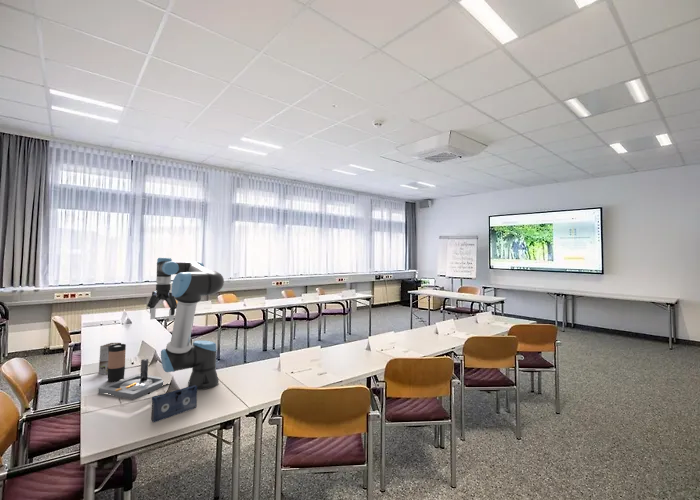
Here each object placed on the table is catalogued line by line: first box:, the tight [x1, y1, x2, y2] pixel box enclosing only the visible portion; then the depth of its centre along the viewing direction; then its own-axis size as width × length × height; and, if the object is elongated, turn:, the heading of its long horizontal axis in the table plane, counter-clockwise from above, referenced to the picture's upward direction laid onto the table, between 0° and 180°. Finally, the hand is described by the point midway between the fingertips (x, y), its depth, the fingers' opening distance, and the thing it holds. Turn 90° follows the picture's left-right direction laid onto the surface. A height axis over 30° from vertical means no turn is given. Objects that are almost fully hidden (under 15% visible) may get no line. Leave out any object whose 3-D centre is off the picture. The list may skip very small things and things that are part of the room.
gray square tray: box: [97, 373, 164, 400], centre depth 167 cm, size 22×22×4 cm
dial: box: [120, 358, 152, 391], centre depth 167 cm, size 14×14×12 cm
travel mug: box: [107, 343, 127, 383], centre depth 178 cm, size 8×8×20 cm
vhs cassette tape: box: [150, 385, 198, 423], centre depth 143 cm, size 18×3×10 cm, turn 141°
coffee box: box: [98, 342, 122, 375], centre depth 194 cm, size 9×6×16 cm
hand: (161, 319), depth 193 cm, fingers open, 13 cm apart
